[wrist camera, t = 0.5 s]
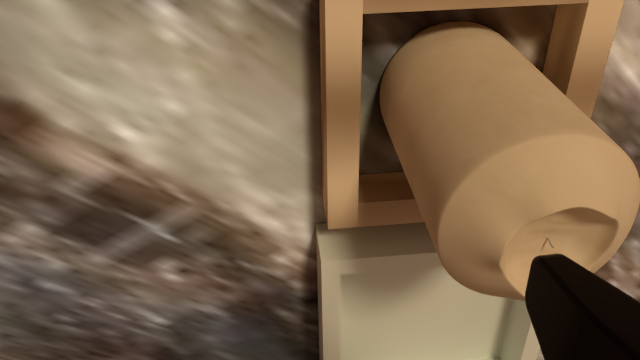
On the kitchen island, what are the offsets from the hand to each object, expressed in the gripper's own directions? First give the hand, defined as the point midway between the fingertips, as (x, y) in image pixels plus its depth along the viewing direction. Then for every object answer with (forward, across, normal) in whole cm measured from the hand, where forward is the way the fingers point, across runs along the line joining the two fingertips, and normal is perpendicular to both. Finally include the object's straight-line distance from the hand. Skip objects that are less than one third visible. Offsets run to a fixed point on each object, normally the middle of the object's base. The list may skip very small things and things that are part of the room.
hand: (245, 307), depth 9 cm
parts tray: (+14, -7, +15) cm, 21 cm away
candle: (+14, -7, +3) cm, 16 cm away
